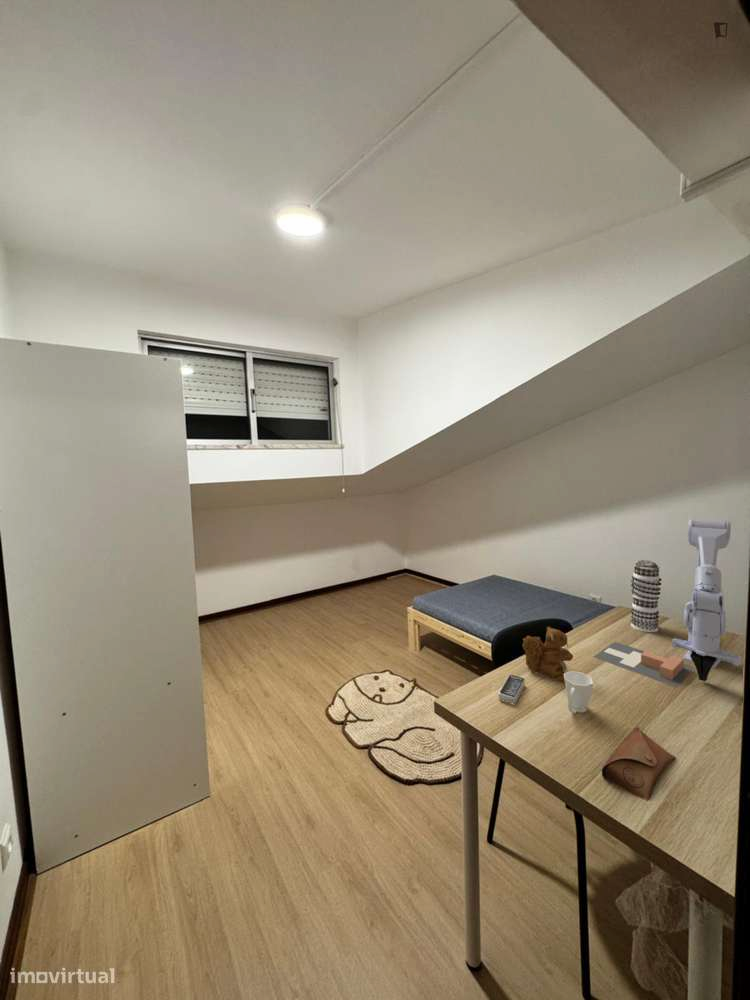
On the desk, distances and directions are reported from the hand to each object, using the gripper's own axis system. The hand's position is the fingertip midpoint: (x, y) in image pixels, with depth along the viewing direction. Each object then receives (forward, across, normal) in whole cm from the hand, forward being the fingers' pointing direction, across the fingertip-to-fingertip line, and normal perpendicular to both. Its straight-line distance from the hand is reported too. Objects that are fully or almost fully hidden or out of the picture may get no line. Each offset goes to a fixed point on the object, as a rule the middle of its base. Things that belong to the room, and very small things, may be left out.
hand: (703, 679), depth 110 cm
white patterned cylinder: (+2, -24, +29) cm, 38 cm away
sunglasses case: (+2, 0, -46) cm, 46 cm away
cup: (+2, -17, -38) cm, 42 cm away
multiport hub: (+2, -32, -43) cm, 54 cm away
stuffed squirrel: (+2, -32, -26) cm, 41 cm away
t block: (+1, -10, 0) cm, 10 cm away
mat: (+1, -15, 0) cm, 15 cm away
